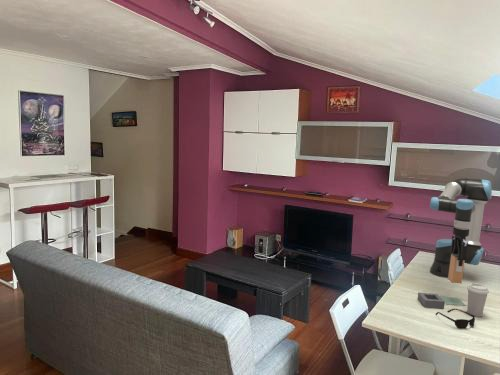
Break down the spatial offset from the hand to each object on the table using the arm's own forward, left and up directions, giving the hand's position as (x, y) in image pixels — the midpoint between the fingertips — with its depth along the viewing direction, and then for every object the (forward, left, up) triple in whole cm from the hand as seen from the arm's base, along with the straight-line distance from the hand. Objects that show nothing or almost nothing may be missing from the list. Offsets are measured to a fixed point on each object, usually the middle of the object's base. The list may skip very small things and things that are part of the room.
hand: (456, 269), depth 204 cm
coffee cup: (+14, +5, -19) cm, 24 cm away
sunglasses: (+23, -9, -19) cm, 31 cm away
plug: (0, 0, -7) cm, 7 cm away
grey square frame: (+6, -14, -18) cm, 24 cm away
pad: (0, 0, -18) cm, 18 cm away
